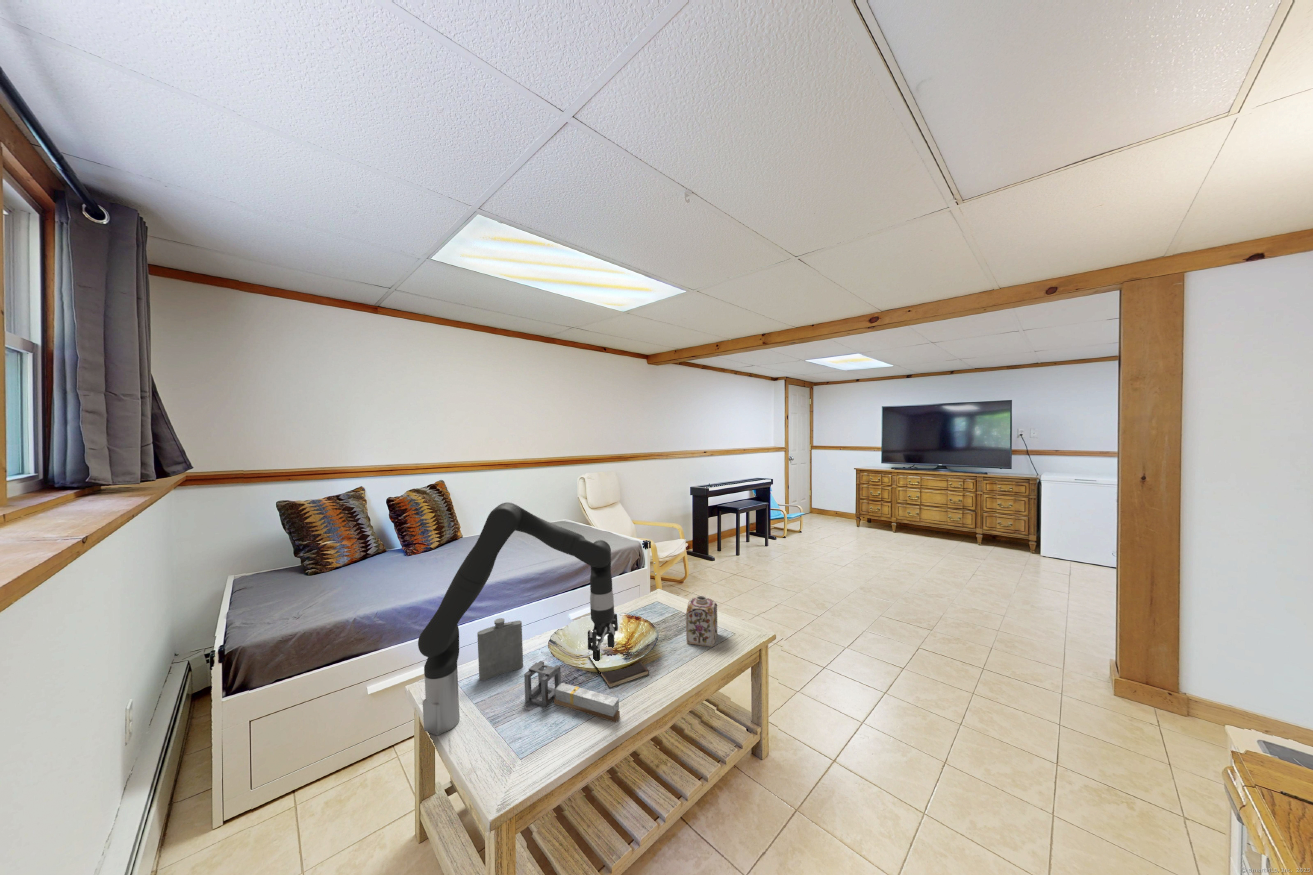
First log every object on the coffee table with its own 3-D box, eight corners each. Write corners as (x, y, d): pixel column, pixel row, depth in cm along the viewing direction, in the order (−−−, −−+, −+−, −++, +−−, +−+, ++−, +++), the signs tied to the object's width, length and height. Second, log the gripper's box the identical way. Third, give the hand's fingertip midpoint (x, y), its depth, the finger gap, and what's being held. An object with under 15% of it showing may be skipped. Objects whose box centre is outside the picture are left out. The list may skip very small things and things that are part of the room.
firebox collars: (545, 708, 138) (544, 678, 138) (525, 701, 142) (524, 672, 141) (561, 692, 146) (560, 664, 146) (541, 686, 150) (540, 658, 149)
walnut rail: (615, 722, 131) (615, 716, 131) (554, 703, 141) (554, 697, 141) (619, 716, 134) (619, 710, 134) (559, 698, 143) (558, 692, 143)
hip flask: (480, 681, 153) (477, 628, 152) (478, 676, 157) (475, 623, 156) (524, 667, 162) (522, 616, 161) (521, 662, 165) (519, 612, 164)
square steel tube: (619, 709, 134) (618, 697, 134) (613, 716, 131) (612, 705, 131) (562, 692, 143) (561, 681, 143) (555, 699, 140) (555, 688, 139)
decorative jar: (685, 643, 176) (685, 601, 175) (691, 630, 187) (690, 590, 186) (714, 647, 173) (713, 604, 172) (718, 633, 184) (717, 593, 183)
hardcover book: (609, 689, 148) (609, 683, 148) (587, 657, 168) (587, 652, 168) (649, 675, 156) (649, 669, 156) (623, 646, 176) (623, 641, 176)
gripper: (599, 615, 127) (602, 667, 127) (623, 596, 140) (625, 644, 140) (579, 611, 130) (581, 662, 131) (604, 593, 143) (606, 640, 144)
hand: (604, 653), depth 136 cm, fingers open, 8 cm apart
